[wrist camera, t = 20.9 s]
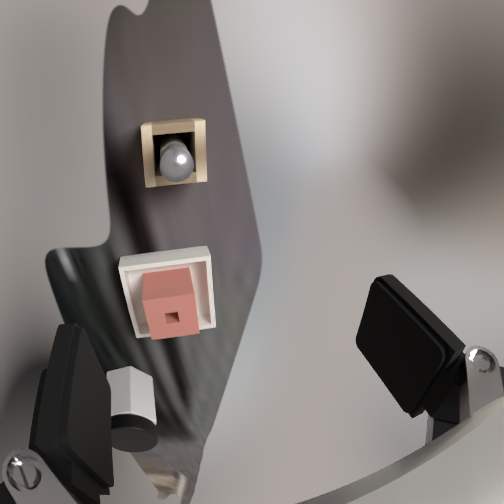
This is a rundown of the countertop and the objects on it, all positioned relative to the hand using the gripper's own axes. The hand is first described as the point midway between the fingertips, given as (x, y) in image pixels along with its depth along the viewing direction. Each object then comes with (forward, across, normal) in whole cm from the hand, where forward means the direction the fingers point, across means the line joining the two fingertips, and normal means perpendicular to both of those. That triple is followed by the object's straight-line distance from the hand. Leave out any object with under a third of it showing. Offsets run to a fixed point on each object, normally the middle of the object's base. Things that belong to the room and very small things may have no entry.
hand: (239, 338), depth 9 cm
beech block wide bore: (+29, +1, -1) cm, 29 cm away
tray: (+28, +3, +17) cm, 33 cm away
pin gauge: (+29, +1, -1) cm, 29 cm away
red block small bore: (+28, +3, +17) cm, 33 cm away
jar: (+28, +13, +35) cm, 47 cm away
